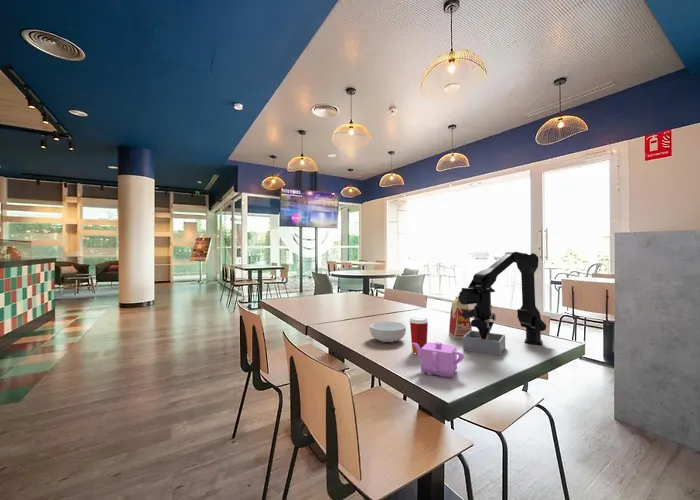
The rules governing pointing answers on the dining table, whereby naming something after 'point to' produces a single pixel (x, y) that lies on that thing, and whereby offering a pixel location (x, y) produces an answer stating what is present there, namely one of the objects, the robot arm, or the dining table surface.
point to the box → (484, 343)
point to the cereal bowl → (387, 331)
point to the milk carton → (458, 320)
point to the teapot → (439, 358)
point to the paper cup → (418, 331)
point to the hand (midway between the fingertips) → (484, 340)
